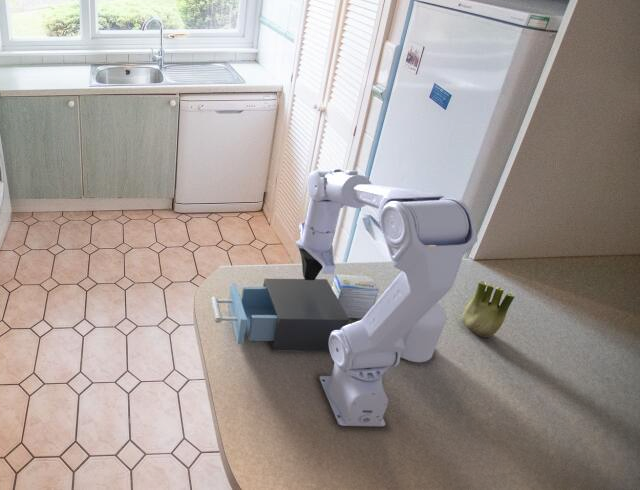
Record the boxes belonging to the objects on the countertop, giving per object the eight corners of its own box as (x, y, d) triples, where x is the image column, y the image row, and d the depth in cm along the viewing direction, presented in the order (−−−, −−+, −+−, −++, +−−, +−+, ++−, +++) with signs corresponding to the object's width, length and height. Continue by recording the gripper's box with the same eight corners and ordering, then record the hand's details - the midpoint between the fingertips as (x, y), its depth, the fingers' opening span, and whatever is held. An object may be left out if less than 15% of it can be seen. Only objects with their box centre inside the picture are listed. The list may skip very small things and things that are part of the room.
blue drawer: (215, 344, 92) (218, 319, 89) (207, 306, 101) (210, 282, 99) (299, 345, 92) (304, 320, 89) (283, 307, 101) (288, 283, 98)
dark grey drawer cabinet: (273, 350, 92) (279, 318, 88) (259, 308, 102) (264, 278, 99) (340, 351, 92) (349, 319, 88) (319, 308, 102) (326, 279, 98)
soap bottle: (439, 367, 88) (481, 267, 78) (389, 359, 90) (423, 260, 79) (422, 331, 96) (458, 236, 86) (376, 324, 98) (405, 231, 87)
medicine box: (363, 305, 103) (371, 275, 99) (370, 320, 99) (380, 290, 95) (327, 303, 104) (334, 273, 100) (333, 317, 100) (341, 287, 96)
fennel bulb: (498, 338, 95) (519, 294, 89) (480, 343, 93) (500, 299, 88) (472, 318, 100) (490, 275, 95) (454, 323, 98) (472, 280, 93)
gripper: (289, 205, 97) (280, 256, 103) (313, 246, 84) (301, 302, 90) (322, 205, 97) (311, 256, 103) (351, 247, 84) (337, 303, 89)
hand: (308, 278), depth 96 cm, fingers closed
